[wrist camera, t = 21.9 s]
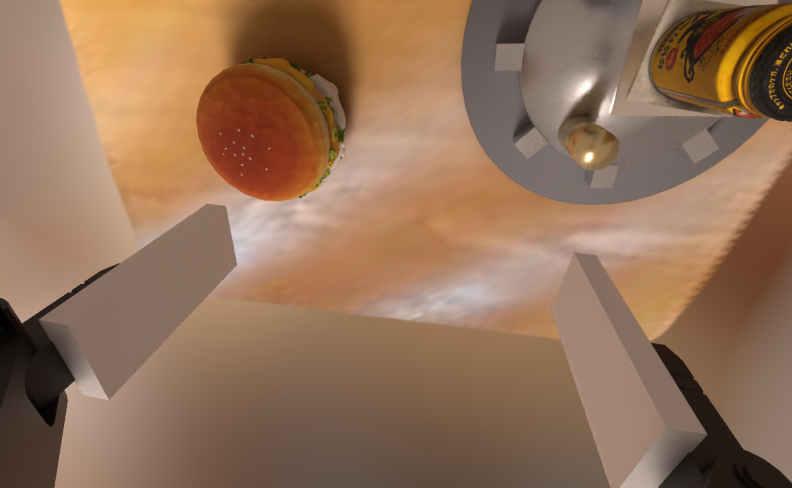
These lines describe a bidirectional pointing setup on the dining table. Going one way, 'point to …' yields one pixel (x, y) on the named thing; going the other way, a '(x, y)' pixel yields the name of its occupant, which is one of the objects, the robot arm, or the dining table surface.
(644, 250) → the dining table surface
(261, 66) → the burger
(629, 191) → the base
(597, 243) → the dining table surface
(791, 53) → the condiment
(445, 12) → the dining table surface
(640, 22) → the grey disc with blocks
